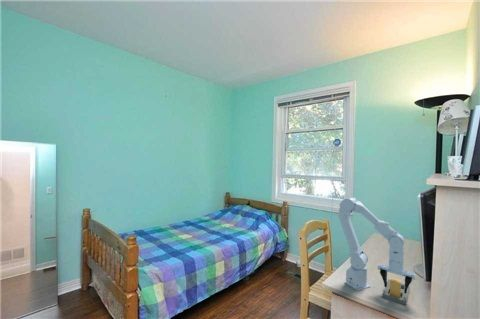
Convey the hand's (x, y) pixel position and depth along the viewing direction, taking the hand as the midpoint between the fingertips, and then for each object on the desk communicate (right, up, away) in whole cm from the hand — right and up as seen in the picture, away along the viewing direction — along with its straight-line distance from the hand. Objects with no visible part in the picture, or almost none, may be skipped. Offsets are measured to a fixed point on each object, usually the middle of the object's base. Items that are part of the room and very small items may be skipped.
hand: (395, 289), depth 108 cm
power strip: (+3, -4, +3) cm, 6 cm away
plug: (0, -4, 0) cm, 3 cm away
